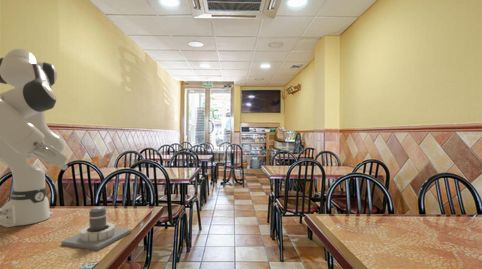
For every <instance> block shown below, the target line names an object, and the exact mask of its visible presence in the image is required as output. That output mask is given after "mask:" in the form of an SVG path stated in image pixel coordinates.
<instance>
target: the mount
mask: <svg viewBox="0 0 482 269" xmlns="http://www.w3.org/2000/svg"><path fill="white" fill-rule="evenodd" d="M131 233H132V229H131V228H125V227H124V228H122V227H116V224H114V223H112V222H106V229H105V230H103V231H99V232H90V225H87V226H85V227H83V228H82V229H81V230H79V233H77V234H76V235H73V236H70V237H69V238H66V239H64V240H62V241H61V245H62V246H67V247H74V248H80V249H88V250H93V251H99V250H101V249H103V248H105V247H106V246H109V245H110V244H112V243H114V242H116V241H118V240H120V239H121V238H123V237H124V238H125V237H126V236H127V235H129V234H131Z"/></svg>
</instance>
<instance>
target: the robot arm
mask: <svg viewBox="0 0 482 269" xmlns="http://www.w3.org/2000/svg"><path fill="white" fill-rule="evenodd" d="M57 79H58V73H57V70H56V68H55V66H54V65H53V64H51V63H48V62H45V61H44V62H41V61H38V60H37V58H36V56H35V55H34V54H33V53H32V52H31V51H29V50H26V49H24V48H15V49H12V50H10V51H9V52H8V53H7V54H6V55H4V57H0V84H3V85H10V86H11V87H14V88H11V89H10V90H9V89H8V90H7V91H4V92H2V93H0V161H1V162H2V163H4V164H5V165H6V166H7V167H8V168H9V169H10V171H11V174H12V181H13V182H12V184H13V190H12V191H10V192H9V193H10V194H9V195H10V200H9V201H8V202H6V203H5V204H4V205H2V206H1V207H0V226H2V227H4V228H12V227H17V226H26V225H31V224H32V225H33V224H36V223H40V222H44V221H46V220H48V219H50V218H51V215H52V214H53V213H52V211H51V210H50V201H49V197H47V195H48V194H47V192H48V191H47V190H48V189H47V187H46V172H45V170H44V169H43V168H41V167H39V166H36V165H33V164H30V163H29V162H28V160H29V159H39V160H40V161H42V162H44V163H45V164H47V165H50V164H51V165H52V166H56V167H58V168H59V169H61V170H62V171H66V170H67V169H68V168H69V166H68V165H67V164H66V162H68V158H67V157H66V156H65V155H64V154H63V153H62V152H63V151H64V147H65V143H64V140H63V139H62V137H61V136H60V135H58V134H56V133H54V132H53V131H52V130H51V129H50V128H49V126H48V125H47V121H46V118H45V112H46V111H48V110H52V109H54V107H55V105H56V102H57V97H56V94H55V92H54V91H53V88H52V86H53V85H54V84H56V81H57Z"/></svg>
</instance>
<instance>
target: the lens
mask: <svg viewBox="0 0 482 269" xmlns="http://www.w3.org/2000/svg"><path fill="white" fill-rule="evenodd" d="M88 212H89V215H88V218H89V219H88V220H89V226H90V232H99V231H103V230H105V229H106V223H107V209H106V206H103V205H99V206H93V207H91V208H90V211H88Z"/></svg>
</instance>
